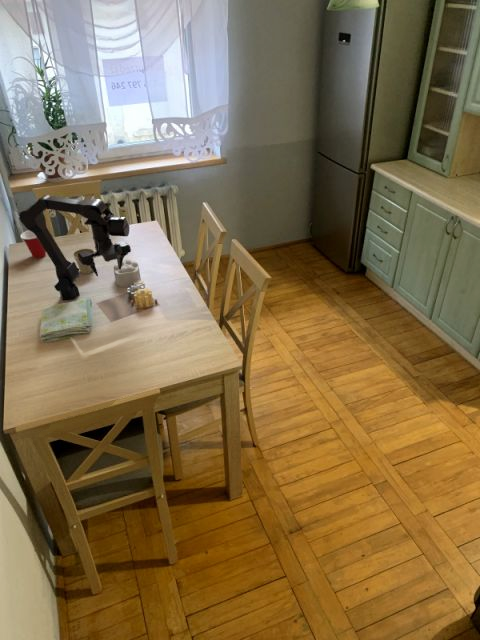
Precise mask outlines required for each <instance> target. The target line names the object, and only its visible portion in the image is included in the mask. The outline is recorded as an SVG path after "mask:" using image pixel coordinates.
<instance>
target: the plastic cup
mask: <svg viewBox="0 0 480 640" xmlns="http://www.w3.org/2000/svg"><path fill="white" fill-rule="evenodd" d="M19 238H21V239H22V240H23V241H24V243H25V245H26V246H27V249H28V251H29V252H30V254H31V256H32V258H33V259H36V260H37V259H42V258H44V257H46V255H47V253H46V251H45V249H44V248H43V246H42V245H41V243H40V242H39V240H38V238H37V237H36V235H35V234H34V233H33V232H31V231H30V230H28V229H27V230H26V231H24V232H22V233H21V234H20V237H19Z"/></svg>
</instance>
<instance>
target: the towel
mask: <svg viewBox="0 0 480 640" xmlns="http://www.w3.org/2000/svg"><path fill="white" fill-rule="evenodd" d="M92 323H93V303H92V300H91V298H84V299H78V300H74V301H73V300H72V301H68V302H63V303H58V304H52V305H49V306H44V307H43V308H42V313H41V320H40V327H39V338H40V340H41V342H42V343H49V342H55V341H59V340H66V339H71V338H74V336H73V335H83V334H90V333H91V332H92Z"/></svg>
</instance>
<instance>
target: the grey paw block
mask: <svg viewBox="0 0 480 640" xmlns="http://www.w3.org/2000/svg"><path fill="white" fill-rule="evenodd" d="M112 269H113V274H114V275H113V276H114V280H115V283H116V285H117V286H118V287H120V288H123V287H124V288H126V287H129V286H130V287H131V286H133V285H134V282H136V281H138V280H139V281H142V278H141V273H140V266H139V264H138V262H137V261H134V260H132V259H130V258H129V259H123V262H122V267H121V270H120V269H119V267H118V263H117V262H116V263H115V264H114V265H113V268H112Z"/></svg>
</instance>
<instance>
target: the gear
mask: <svg viewBox="0 0 480 640" xmlns="http://www.w3.org/2000/svg"><path fill="white" fill-rule="evenodd" d="M138 289H144V287H143V286H140V285H137V286H134V285H130V287H128V288H126V293H128V297H129V298H132V299H135V297H134V292H135V291H137V290H138Z"/></svg>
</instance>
